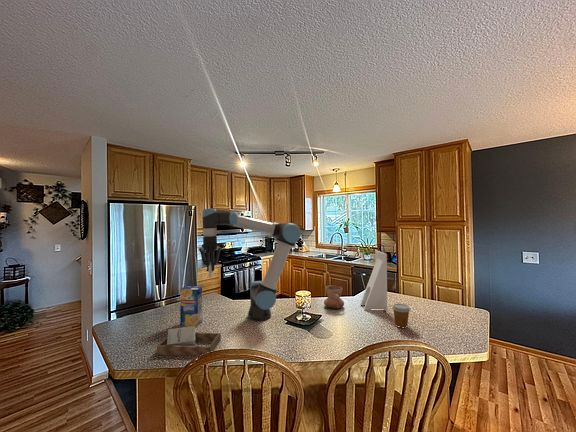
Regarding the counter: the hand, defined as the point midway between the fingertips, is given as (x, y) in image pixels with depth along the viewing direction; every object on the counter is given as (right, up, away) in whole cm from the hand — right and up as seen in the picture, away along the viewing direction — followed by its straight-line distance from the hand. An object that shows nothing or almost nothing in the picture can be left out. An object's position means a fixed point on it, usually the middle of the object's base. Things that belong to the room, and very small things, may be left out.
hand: (210, 276), depth 145 cm
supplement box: (-3, -26, -15) cm, 30 cm away
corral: (-5, -31, -17) cm, 36 cm away
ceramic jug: (+77, -32, +40) cm, 93 cm away
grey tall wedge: (+104, -31, +38) cm, 115 cm away
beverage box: (-15, -32, +12) cm, 37 cm away
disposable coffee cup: (+111, -31, +6) cm, 116 cm away
